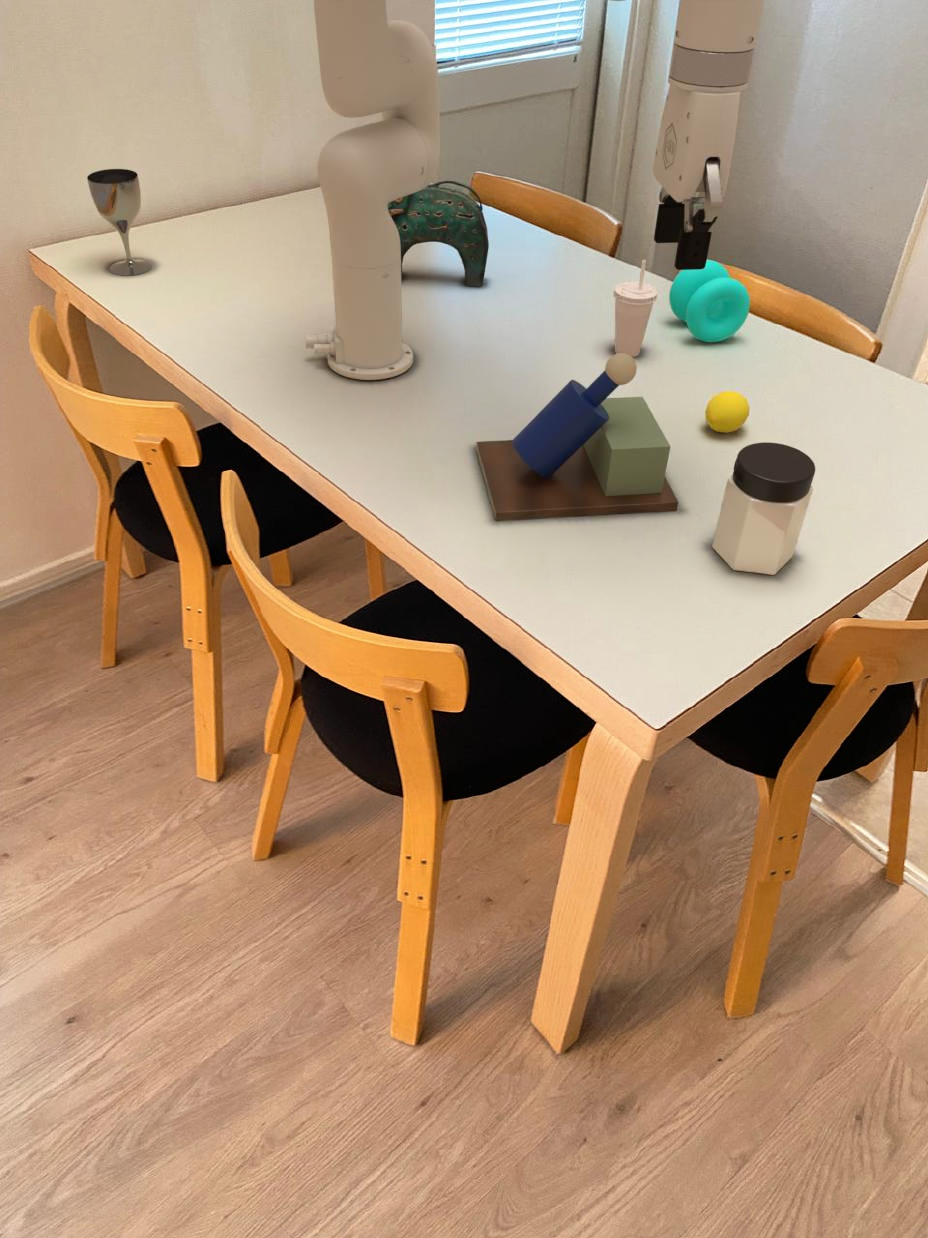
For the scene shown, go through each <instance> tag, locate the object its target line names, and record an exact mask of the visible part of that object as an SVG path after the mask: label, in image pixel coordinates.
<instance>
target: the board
mask: <svg viewBox="0 0 928 1238" xmlns="http://www.w3.org/2000/svg"><path fill="white" fill-rule="evenodd" d="M475 450H476V454H477V457H478V462H479V464H480V465H479V466H480V468H481V472H482V475H483V479H484V484H485V487H486V490H487V494H488V498H489V502H490V505H491V510H492V512H493V517H494V519H495V521H497V522H498V521H513V520H532V519H549V518H566V517H567V518H569V517H582V516H599V515H600V516H601V515H616V514H617V515H618V514H634V513H635V514H636V513H652V512H653V513H655V512H669V511H670V512H671V511H677V510H678V507H679V500H678V499H677V497H676V495H675V493H674V491H673V489H672V487H671V485H670V483H669V482H668V480H667V478H666V477H665V478H664V484H663V489H662V493H656V494H638V495H620V496H605V494H604V492H603V490H602V487H601V485H600V483H599V480H598V478H597V476H596V474H595V471H594V469H593V467H592V464H591V462H590V460H589V457H588V455H587V453H586V450H585V448H584V446H583V445H582V446H581V447H580V448H579V449H578V450H577V451H576V452H575V453H574V454H573V455H572V456H571V457H570V458H569V459H568V460H567V461H566V462H565V463H564V464H563V465H562V466H561V467H560V468H559V469H558V470H557V471H556V472H555V473H554V474H553V475H552V476H551V477H549V478H546V477H544V476H542V475H540V474H538V473H537V472H536V471H534V470H533V469H532V468H531V467H530V466H529V465H527V464H526V462H525V461H524V460H523V459H522V458H521V457H520V455H519V454H518V453H517V451H516V450H515V448H514V446H513V439H505V440H483V441H476V443H475Z"/></svg>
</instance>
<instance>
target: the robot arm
mask: <svg viewBox="0 0 928 1238" xmlns="http://www.w3.org/2000/svg"><path fill="white" fill-rule="evenodd" d="M610 1H611V2H623V1H625V0H610ZM764 1H765V0H678V7H677V14H676V21H675V27H674V36H673V43H672V51H671V56H670V62H669V63H670V64H669V69H668V76H667V83H668V84H669V87H668V90H667V93H666V97H665V102H664V107H663V111H662V116H661V121H660V127H659V131H658V136H657V142H656V148H655V152H654V153H655V154H654V159H653V165H652V173H653V176H654V178H655V180H656V181H657V182H658V183H659V185H660V186H661V188H660V191H659V196H658V201H659V203H658V208H657V212H656V221H655V227H654V234H653V241H654V242H655V243H656V244H677V246H676V253H675V259H674V263H673V265H674V268H675V269H676V270H677V271H682V270H697V269H704V268H705V266H706V261H707V260H708V256H709V251H710V250H709V249H710V243H711V238H712V235H713V234H712V233H713V232H714V230H715V224H716V221H717V219H718V218H719V216H718V215H719V213H720V212H721V210H722V209H723V206H724V198H723V197H724V196H725V193H726V189H727V186H728V182H729V177H730V173H731V167H732V161H733V153H734V149H735V143H736V135H737V127H738V120H739V110H740V99H741V92H742V91H745V90H746V89H747V88H748V84H749V79H750V74H751V68H752V63H753V59H754V53H755V48H756V43H757V39H758V33H759V27H760V23H761V17H762V11H763V6H764ZM313 8H314V9H313V10H314V20H315V33H316V41H317V52H318V60H319V61H318V63H319V72H320V79H321V86H322V91H323V96H324V99H325V101H326V103H327V105H328V107H329V108H330V109H331V110H332V111H333V112H334V113H335V114H337V115H338V116H340V117H344V118H350V119H354V118H364V117H368V116H372V115H376V114H380V113H381V119H382V120H380V121H376V122H371V123H366V124H363V125H360V126H356V127H353V128H350V129H347V130H344V131H341V132H339V133H337V134H336V135H334V136H333V137H331V138H330V139H329V140H327V142H326V143H325V144H324V145H323V147H322V148H321V150H320V154H319V155H318V160H317V178H318V183H319V186H320V190H321V194H322V198H323V202H324V206H325V210H326V216H327V224H328V233H329V244H330V256H331V270H332V271H331V272H332V273H331V274H332V285H333V287H332V288H333V302H334V303H333V304H334V317H335V325H333V331H327V332H326V333H327V334H316V333H315V334H313V333H312V334H305V335H304V336H305V348H306V349H314V355H323V354H327V364H328V366H329V368H330V369H331V370H332V371H334V372H335V373H337V374H338V375H340V376H343V377H345V378H349V379H354V380H361V381H378V380H379V381H380V380H387V379H391V378H394V377H397V376H400V375H401V374H404V373H405V372H407V371H408V370H410V368H411V367H412V366H413V364H414V351H413V349H412V348H411V347H410V346H409V345H408V344H407V343H406V342H403V301H402V300H403V297H402V294H403V293H402V291H403V289H402V275H401V245H400V237H399V232H398V230H397V227H396V225H395V223H394V221H393V219H392V218H391V216H390V213H389V211H388V203H389V202H392V201H394V200H396V199H398V198H401V197H404V196H407V195H410V194H413V193H415V192H418V191H420V190H422V189H424V188H425V187H427V186H428V185H430V184H432V183H433V181H434V179H435V178H436V176H437V173H438V171H439V166H440V161H441V122H440V119H441V117H440V115H441V114H440V79H439V68H438V62H437V58H436V54H435V51H434V48H433V45H432V44H431V42H430V40H429V37H428V36H427V35H426V34H425V32H424V31H423V30H422V29H421V28H420V27H419V26H417V25H416V24H414V23H413V22H410V21H408V20H401V19H395V20H388V13H387V0H313ZM695 193H704V196H694V195H695ZM695 206H702V208H698V210H697V211H696V213H695V212H694V211H695V209H694V208H695ZM694 213H695V214H694Z"/></svg>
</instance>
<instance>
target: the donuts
mask: <svg viewBox="0 0 928 1238" xmlns="http://www.w3.org/2000/svg"><path fill="white" fill-rule="evenodd" d="M668 302H669V306H670V309H671V311H672V313H673V314H674V315H675V316H676V317H677V318H678V319H679V320H681V321H683V322H685V324H686V326H687V329H688V331H689V332H690V334H692V336H693V337H694V338H696V339H697V340H700V341H702V342H705V343H718V342H721V341H725V340H726V339H728V338H730V337H732V336H733V335H734V334H735V333H737V332H738V331H739V330H740V329H741V327H742V326H743V325H744V323H745V322H746V320H747V317H748V316H749V313H750V307H751V306H750V305H751V299H750V294H749V292H748V289H747V288H746V287H745V285H744V284H743V283H741V282H740V281H739V280H737V279H734V278H732V277H731V276H730V274H729V272H728V270H727V269H726V267H724V266H723V265H722V264H721V263H720V262H717V261H715V260H711V259H707V261H706V266H705V268H704V269H697V270H680V271H679V273H678V274H677V275H676V276H675V278H674V279H673V282H672V284H671V286H670V290H669V295H668Z"/></svg>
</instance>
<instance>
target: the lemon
mask: <svg viewBox="0 0 928 1238" xmlns="http://www.w3.org/2000/svg"><path fill="white" fill-rule="evenodd" d="M704 415H705V422H706V423H707V424H708V426H709V427H710V429H712V430H713V431H715V432H716V433H726V434H727V433H732V432H734V431H737V430H738V429H740V428H741V427H742V426H743V425H744V424H745V423H746V421H747V419H748V417H749V416H750V406H749V402H748V399H747V398H746V397H745V396H744V395H742V394H741V393H740V392H737V391H734V390H725V391H723V390H722V391H721V392H719V393H717V394H715V395H713V396H712V397H711V399H710V400H709V401H708V402H707V404H706V408H705V411H704Z"/></svg>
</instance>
